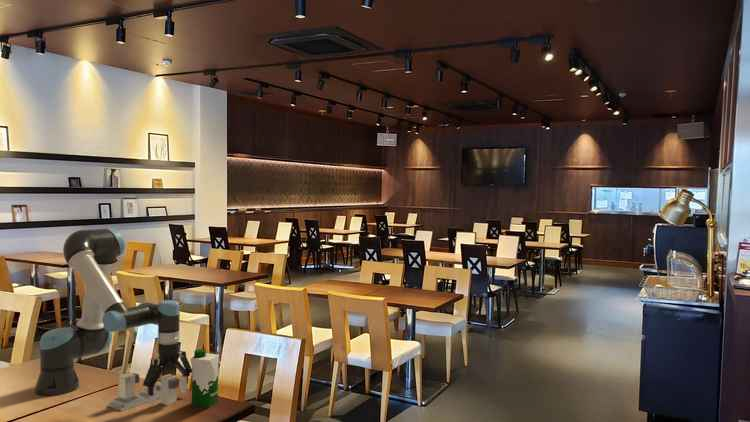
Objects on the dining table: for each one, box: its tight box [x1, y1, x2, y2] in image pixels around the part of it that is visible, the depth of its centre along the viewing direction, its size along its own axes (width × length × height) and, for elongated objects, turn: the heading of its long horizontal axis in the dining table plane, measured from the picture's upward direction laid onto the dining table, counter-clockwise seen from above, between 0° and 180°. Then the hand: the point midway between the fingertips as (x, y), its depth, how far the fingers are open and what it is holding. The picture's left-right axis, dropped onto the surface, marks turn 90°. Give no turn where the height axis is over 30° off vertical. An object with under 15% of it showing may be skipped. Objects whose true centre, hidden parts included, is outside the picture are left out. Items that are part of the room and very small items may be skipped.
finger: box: [160, 373, 180, 406], centre depth 208 cm, size 6×4×10 cm, turn 57°
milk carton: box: [190, 348, 220, 409], centre depth 208 cm, size 9×9×20 cm
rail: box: [107, 372, 161, 412], centre depth 212 cm, size 8×22×11 cm, turn 147°
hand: (168, 398), depth 209 cm, fingers open, 13 cm apart
